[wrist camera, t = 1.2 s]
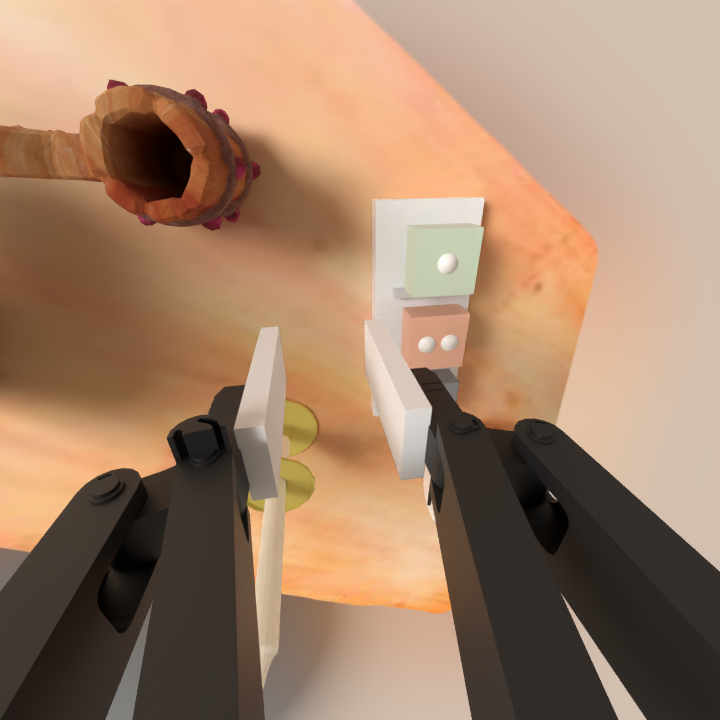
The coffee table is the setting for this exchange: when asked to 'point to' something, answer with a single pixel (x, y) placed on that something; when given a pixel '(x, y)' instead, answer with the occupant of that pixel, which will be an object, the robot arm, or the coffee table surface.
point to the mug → (144, 155)
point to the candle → (280, 525)
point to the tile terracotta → (434, 336)
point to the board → (391, 255)
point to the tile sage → (442, 259)
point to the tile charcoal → (448, 381)
